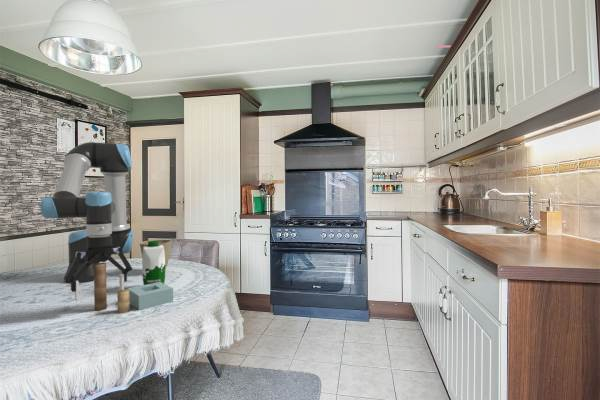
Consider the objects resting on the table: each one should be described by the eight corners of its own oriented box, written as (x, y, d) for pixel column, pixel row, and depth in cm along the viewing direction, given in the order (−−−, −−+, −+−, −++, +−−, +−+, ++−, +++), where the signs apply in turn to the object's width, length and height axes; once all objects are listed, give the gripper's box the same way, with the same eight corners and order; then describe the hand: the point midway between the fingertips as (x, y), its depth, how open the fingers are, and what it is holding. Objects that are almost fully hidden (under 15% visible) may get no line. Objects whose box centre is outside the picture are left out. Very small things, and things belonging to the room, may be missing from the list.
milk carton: (164, 284, 137) (164, 239, 137) (166, 290, 129) (165, 242, 129) (142, 287, 133) (141, 241, 133) (142, 293, 125) (141, 244, 125)
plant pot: (162, 267, 168) (161, 238, 167) (178, 271, 159) (177, 241, 159) (134, 273, 156) (133, 242, 155) (149, 278, 147) (149, 245, 146)
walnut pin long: (93, 309, 108) (92, 264, 108) (105, 306, 111) (104, 262, 110) (96, 311, 106) (95, 265, 105) (108, 308, 108) (107, 263, 108)
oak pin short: (116, 311, 106) (116, 291, 106) (127, 308, 109) (127, 288, 109) (119, 314, 104) (119, 293, 104) (131, 311, 106) (130, 291, 106)
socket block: (127, 301, 115) (127, 288, 115) (160, 294, 124) (160, 281, 124) (139, 310, 107) (138, 295, 107) (173, 301, 116) (173, 288, 116)
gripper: (56, 240, 96) (57, 308, 97) (141, 233, 114) (142, 289, 115) (52, 238, 101) (53, 302, 102) (134, 231, 119) (135, 285, 120)
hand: (100, 295), depth 108 cm, fingers open, 13 cm apart
